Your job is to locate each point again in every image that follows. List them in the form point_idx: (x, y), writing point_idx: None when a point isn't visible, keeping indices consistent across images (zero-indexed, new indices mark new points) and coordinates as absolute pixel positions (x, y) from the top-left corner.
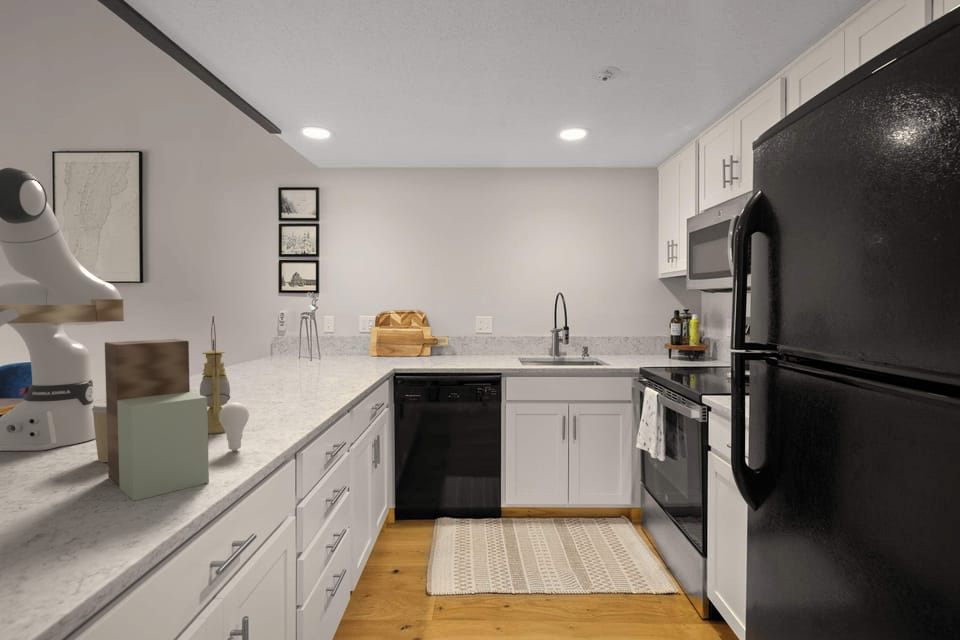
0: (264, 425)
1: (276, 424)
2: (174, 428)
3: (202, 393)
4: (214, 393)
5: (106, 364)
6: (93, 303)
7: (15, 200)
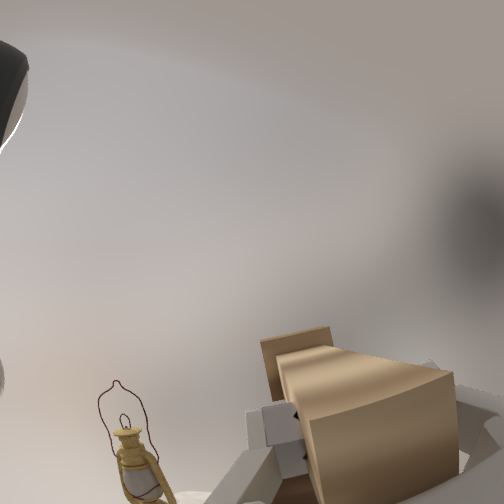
0: (193, 498)
1: (201, 492)
2: None
3: (141, 488)
4: (164, 484)
5: (280, 491)
6: (293, 346)
7: (15, 88)
